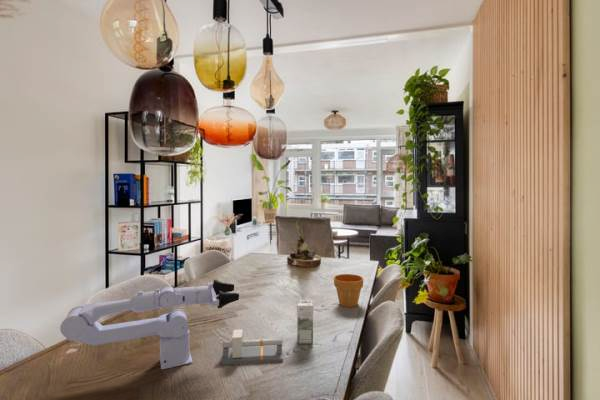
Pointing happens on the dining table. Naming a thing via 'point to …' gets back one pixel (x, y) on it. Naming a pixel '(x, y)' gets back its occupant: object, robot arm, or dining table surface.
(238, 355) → the collar
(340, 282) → the flower pot
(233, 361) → the pipe stand
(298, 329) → the syrup box
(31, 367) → the dining table surface
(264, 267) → the dining table surface
